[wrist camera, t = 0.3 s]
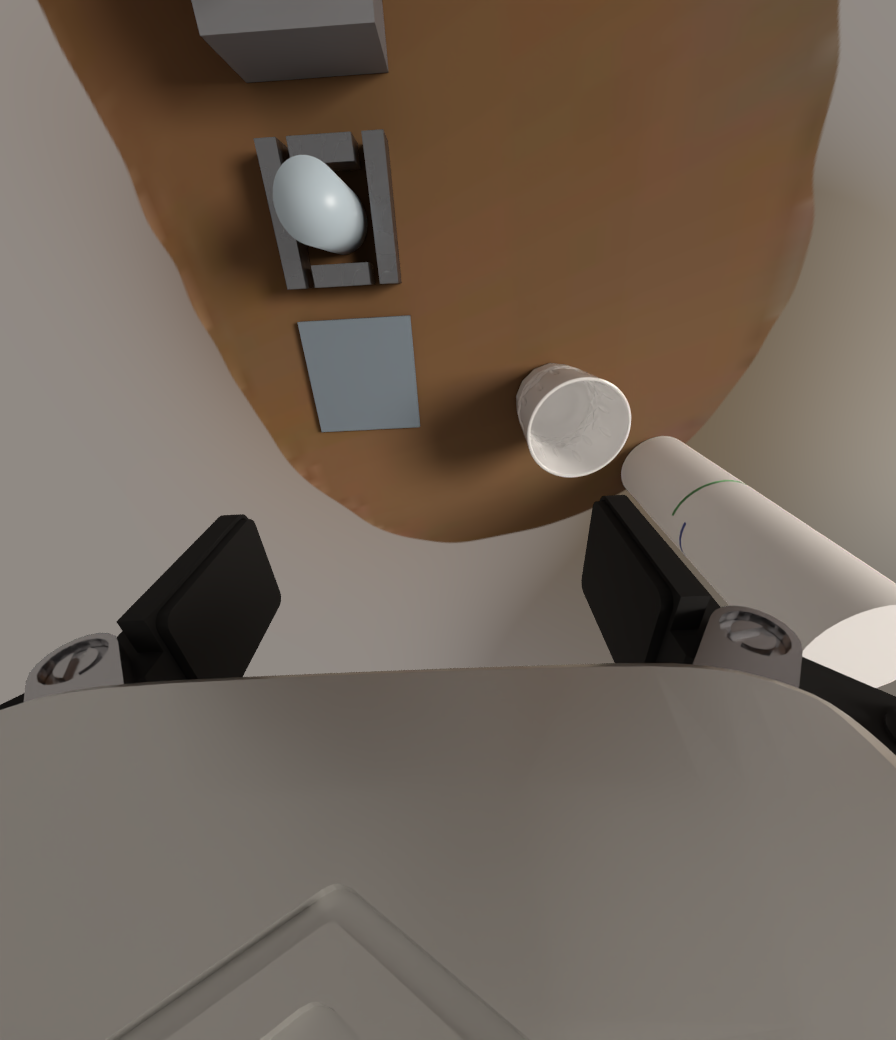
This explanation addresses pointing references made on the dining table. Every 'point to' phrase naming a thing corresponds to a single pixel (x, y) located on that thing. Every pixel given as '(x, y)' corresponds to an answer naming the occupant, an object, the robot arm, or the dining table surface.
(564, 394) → the white cup
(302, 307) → the dining table surface
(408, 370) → the rubber mat
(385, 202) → the cartridge socket
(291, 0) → the plunger housing
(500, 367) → the dining table surface
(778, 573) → the cylindrical container
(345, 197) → the cylinder
